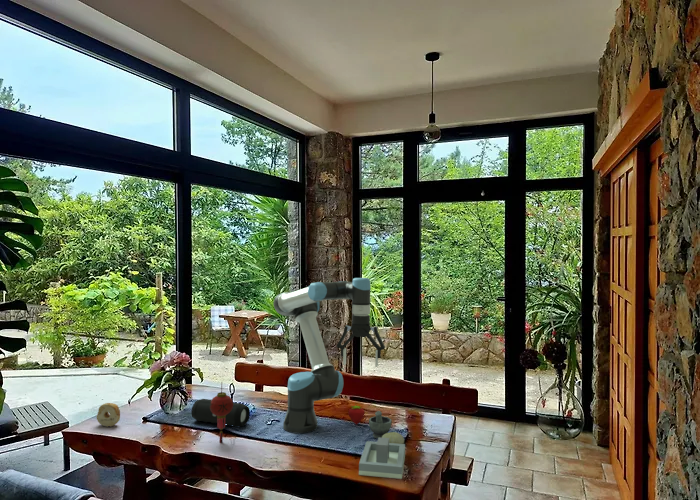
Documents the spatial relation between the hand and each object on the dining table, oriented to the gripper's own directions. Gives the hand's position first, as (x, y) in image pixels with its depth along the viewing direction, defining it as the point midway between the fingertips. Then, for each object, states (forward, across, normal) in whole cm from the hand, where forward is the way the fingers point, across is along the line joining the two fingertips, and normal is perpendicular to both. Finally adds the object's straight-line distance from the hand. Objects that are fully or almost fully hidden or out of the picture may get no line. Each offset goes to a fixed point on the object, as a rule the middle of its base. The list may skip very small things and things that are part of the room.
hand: (360, 365), depth 196 cm
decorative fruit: (+31, -4, +16) cm, 35 cm away
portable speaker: (+31, -65, +5) cm, 72 cm away
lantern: (+31, -55, -15) cm, 65 cm away
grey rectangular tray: (+31, +12, -22) cm, 40 cm away
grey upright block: (+29, +12, -22) cm, 39 cm away
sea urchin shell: (+31, +14, -4) cm, 34 cm away
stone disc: (+31, -112, -7) cm, 116 cm away
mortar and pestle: (+31, +8, +4) cm, 32 cm away
